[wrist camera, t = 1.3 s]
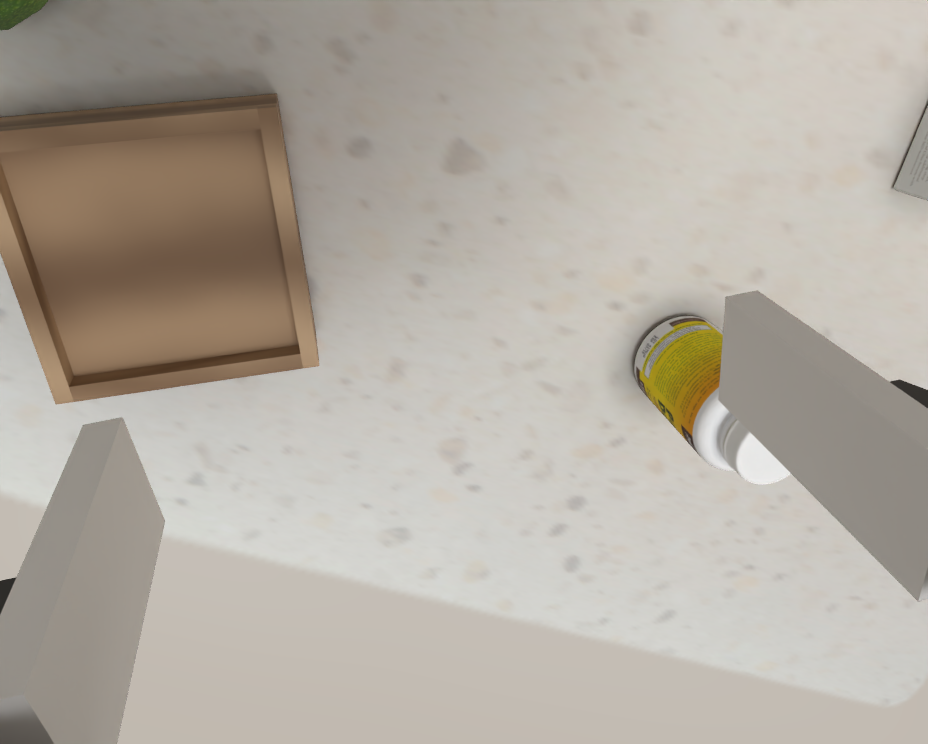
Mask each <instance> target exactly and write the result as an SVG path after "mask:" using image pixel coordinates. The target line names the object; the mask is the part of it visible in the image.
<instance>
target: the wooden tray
mask: <svg viewBox="0 0 928 744" xmlns="http://www.w3.org/2000/svg"><path fill="white" fill-rule="evenodd" d="M0 253H1V256H2V258H3V261H4V264H5V267H6V269H7V272H8V275H9V278H10V280H11V283H12V286H13V289H14V291H15V294H16V297H17V300H18V302H19V305H20V308H21V310H22V313H23V316H24V319H25V321H26V324H27V327H28V330H29V332H30V335H31V338H32V341H33V343H34V346H35V349H36V352H37V354H38V357H39V360H40V362H41V365H42V368H43V371H44V373H45V376H46V379H47V382H48V384H49V387H50V390H51V393H52V395H53V398H54V401H55V404H62V403H69V402H76V401H83V400H90V399H97V398H103V397H110V396H117V395H124V394H131V393H138V392H144V391H151V390H158V389H165V388H172V387H179V386H185V385H192V384H199V383H206V382H213V381H220V380H227V379H233V378H240V377H247V376H254V375H261V374H268V373H274V372H281V371H288V370H295V369H302V368H309V367H315V366H319V358H318V349H317V340H316V331H315V325H314V318H313V312H312V306H311V300H310V294H309V288H308V282H307V276H306V269H305V263H304V257H303V251H302V245H301V239H300V233H299V227H298V220H297V214H296V208H295V202H294V196H293V190H292V184H291V178H290V171H289V165H288V159H287V153H286V147H285V141H284V135H283V129H282V122H281V116H280V110H279V104H278V98H277V94H267V95H255V96H244V97H232V98H220V99H208V100H197V101H185V102H173V103H161V104H149V105H138V106H126V107H114V108H102V109H90V110H79V111H67V112H55V113H43V114H32V115H20V116H8V117H0Z"/></svg>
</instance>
